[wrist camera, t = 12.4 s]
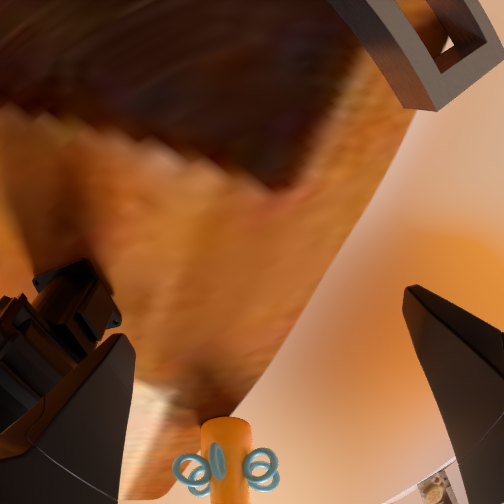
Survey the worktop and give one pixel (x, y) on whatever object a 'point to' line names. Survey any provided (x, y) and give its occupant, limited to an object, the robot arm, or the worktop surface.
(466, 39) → the frame
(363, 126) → the worktop surface
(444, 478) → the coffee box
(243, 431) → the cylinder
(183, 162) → the worktop surface
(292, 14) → the worktop surface
